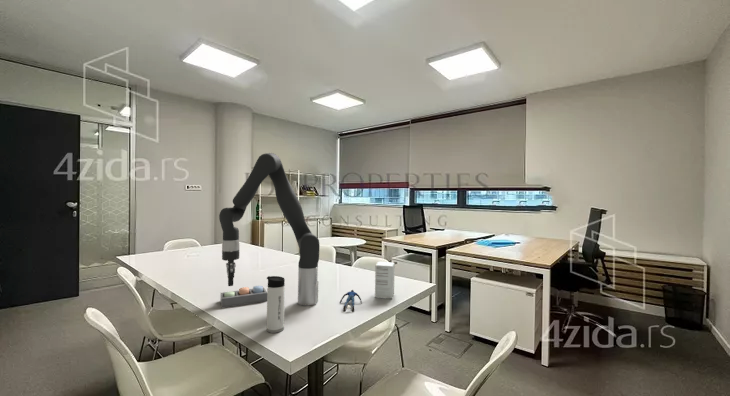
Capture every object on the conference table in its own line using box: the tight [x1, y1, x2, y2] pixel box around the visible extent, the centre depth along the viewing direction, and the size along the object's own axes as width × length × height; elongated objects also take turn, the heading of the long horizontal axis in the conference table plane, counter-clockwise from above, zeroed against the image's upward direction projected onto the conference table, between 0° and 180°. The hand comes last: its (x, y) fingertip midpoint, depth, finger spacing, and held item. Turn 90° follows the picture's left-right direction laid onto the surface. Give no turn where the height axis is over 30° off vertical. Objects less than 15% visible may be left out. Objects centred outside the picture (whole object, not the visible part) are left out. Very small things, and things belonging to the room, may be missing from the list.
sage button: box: [224, 291, 235, 297], centre depth 138 cm, size 5×5×4 cm
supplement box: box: [374, 261, 396, 299], centre depth 153 cm, size 10×9×17 cm
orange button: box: [238, 286, 250, 295], centre depth 141 cm, size 5×5×4 cm
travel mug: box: [266, 275, 286, 334], centre depth 111 cm, size 6×7×20 cm
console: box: [219, 286, 267, 309], centre depth 141 cm, size 20×10×4 cm, turn 119°
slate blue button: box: [252, 285, 264, 293], centre depth 144 cm, size 5×5×4 cm
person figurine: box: [339, 289, 363, 312], centre depth 138 cm, size 11×4×18 cm
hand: (230, 285), depth 138 cm, fingers closed
